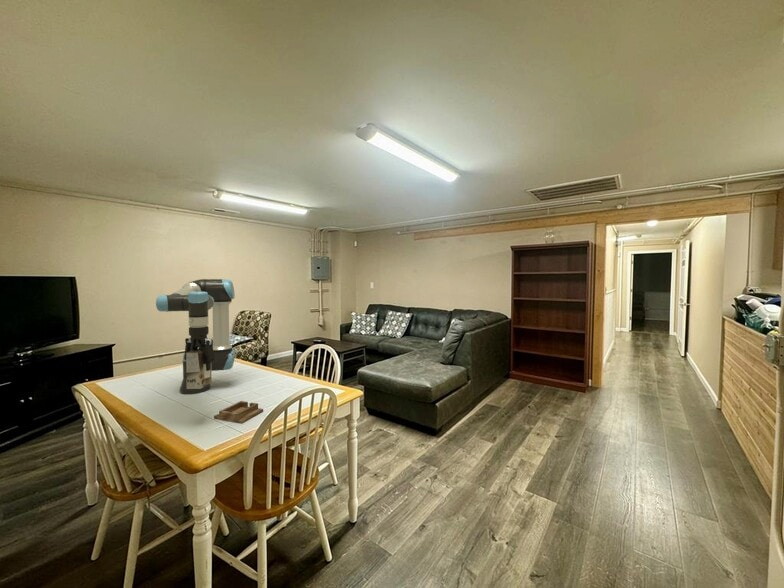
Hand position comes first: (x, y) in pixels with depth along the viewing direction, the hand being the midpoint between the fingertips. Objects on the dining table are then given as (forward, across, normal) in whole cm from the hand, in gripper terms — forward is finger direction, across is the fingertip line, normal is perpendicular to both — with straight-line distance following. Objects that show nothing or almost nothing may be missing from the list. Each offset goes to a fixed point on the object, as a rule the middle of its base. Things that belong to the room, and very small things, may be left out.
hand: (199, 376), depth 140 cm
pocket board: (+21, +10, +12) cm, 26 cm away
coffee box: (+4, 0, 0) cm, 4 cm away
